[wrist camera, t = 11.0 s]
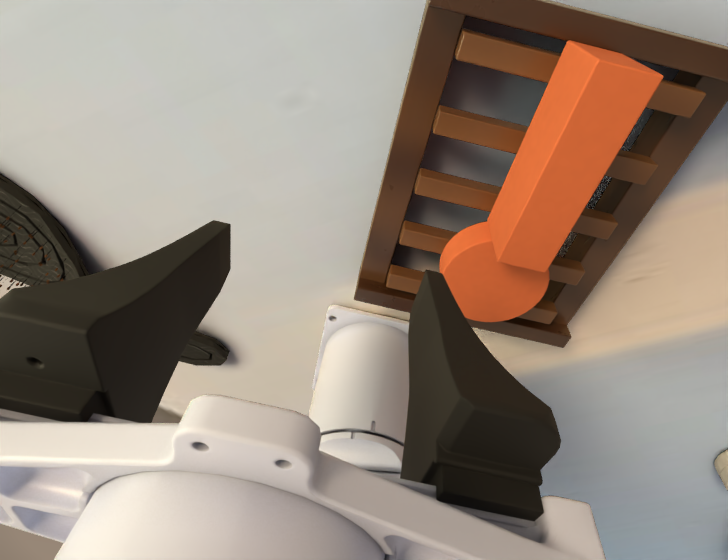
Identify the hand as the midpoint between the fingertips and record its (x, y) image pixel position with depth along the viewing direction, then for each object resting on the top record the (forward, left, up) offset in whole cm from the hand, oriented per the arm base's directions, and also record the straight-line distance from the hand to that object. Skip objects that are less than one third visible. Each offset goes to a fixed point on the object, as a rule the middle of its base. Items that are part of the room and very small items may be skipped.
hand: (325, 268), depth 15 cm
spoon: (+1, -8, -7) cm, 10 cm away
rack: (+1, -8, -9) cm, 12 cm away
